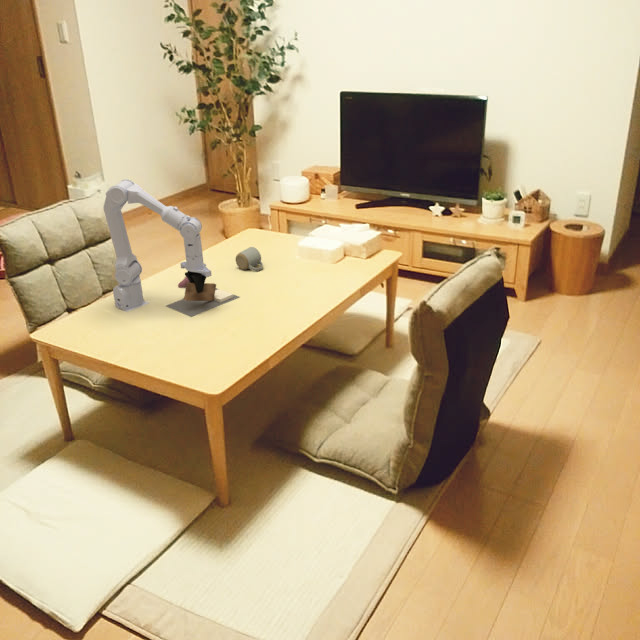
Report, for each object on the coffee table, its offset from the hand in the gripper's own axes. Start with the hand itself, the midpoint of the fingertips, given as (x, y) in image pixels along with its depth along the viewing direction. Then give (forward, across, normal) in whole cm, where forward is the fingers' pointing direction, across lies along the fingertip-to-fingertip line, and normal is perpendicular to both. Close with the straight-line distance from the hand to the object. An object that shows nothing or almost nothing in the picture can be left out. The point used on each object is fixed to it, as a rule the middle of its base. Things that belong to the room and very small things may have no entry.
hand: (198, 291), depth 232 cm
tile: (+5, 0, -6) cm, 8 cm away
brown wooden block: (+3, 0, 0) cm, 3 cm away
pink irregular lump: (+6, +20, -11) cm, 24 cm away
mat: (+6, +2, -3) cm, 7 cm away
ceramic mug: (+6, +15, -38) cm, 42 cm away
